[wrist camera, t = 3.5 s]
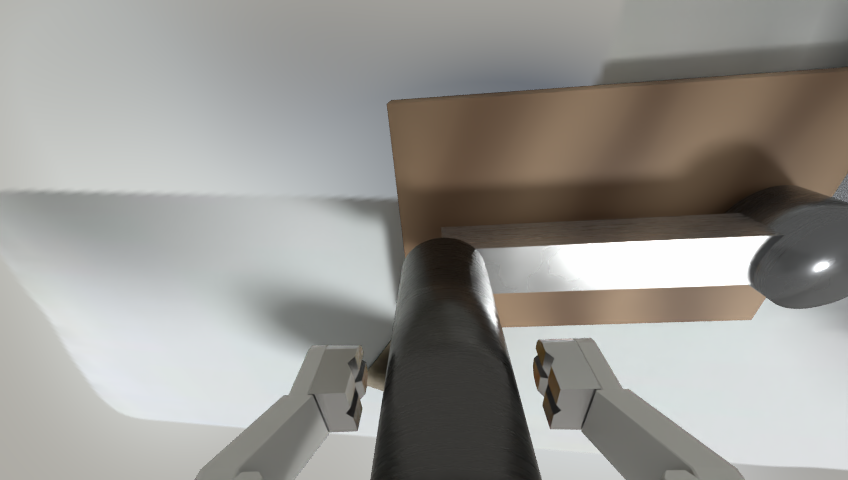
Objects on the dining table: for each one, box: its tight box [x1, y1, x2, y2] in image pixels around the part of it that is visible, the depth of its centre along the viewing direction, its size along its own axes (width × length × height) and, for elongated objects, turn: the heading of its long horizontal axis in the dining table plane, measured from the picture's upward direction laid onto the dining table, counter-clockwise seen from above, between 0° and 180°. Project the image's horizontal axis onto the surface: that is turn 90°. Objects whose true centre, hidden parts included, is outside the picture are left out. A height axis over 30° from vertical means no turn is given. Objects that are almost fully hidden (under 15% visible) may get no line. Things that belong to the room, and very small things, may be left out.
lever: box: [370, 185, 848, 480], centre depth 10 cm, size 19×4×10 cm, turn 94°
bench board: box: [387, 67, 848, 327], centre depth 16 cm, size 20×13×2 cm, turn 94°
